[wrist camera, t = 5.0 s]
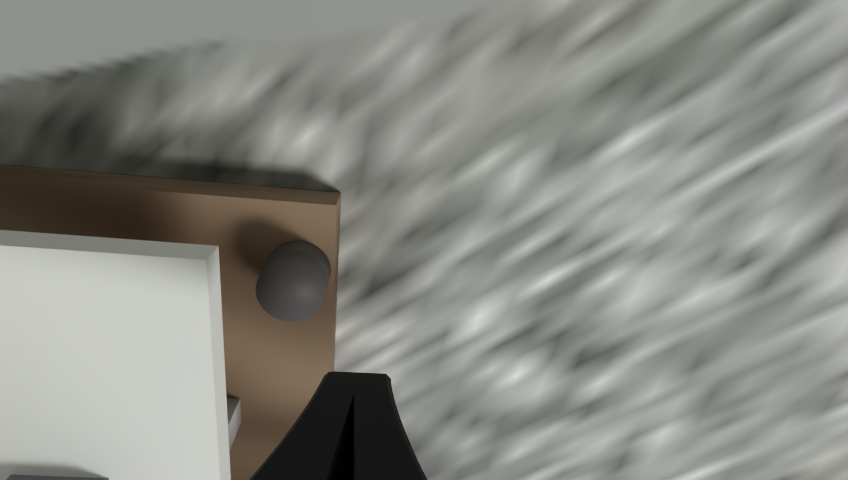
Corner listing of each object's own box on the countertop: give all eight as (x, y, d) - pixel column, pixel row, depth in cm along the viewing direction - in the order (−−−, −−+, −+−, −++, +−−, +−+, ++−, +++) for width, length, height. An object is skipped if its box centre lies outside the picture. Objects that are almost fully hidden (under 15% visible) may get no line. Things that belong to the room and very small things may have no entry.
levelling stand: (327, 538, 26) (314, 625, 22) (-12, 527, 24) (-88, 618, 21) (341, 192, 19) (325, 232, 15) (-125, 154, 18) (-268, 188, 14)
